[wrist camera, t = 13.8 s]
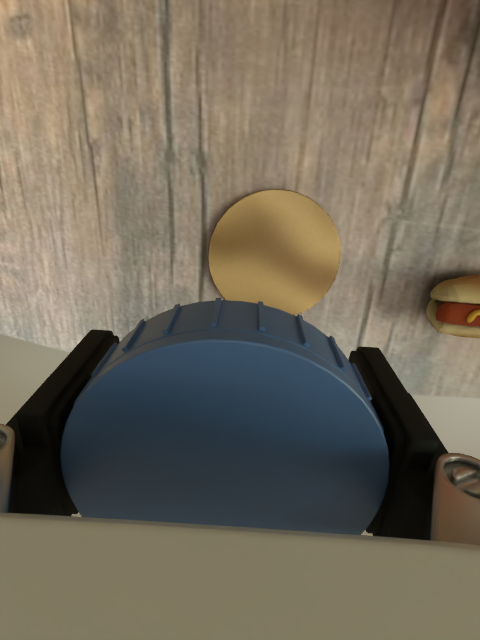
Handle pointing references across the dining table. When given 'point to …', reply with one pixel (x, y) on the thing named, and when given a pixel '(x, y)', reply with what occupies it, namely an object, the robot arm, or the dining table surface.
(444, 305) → the food
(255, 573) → the robot arm
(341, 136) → the dining table surface
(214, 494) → the lid
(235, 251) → the coaster
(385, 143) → the dining table surface
